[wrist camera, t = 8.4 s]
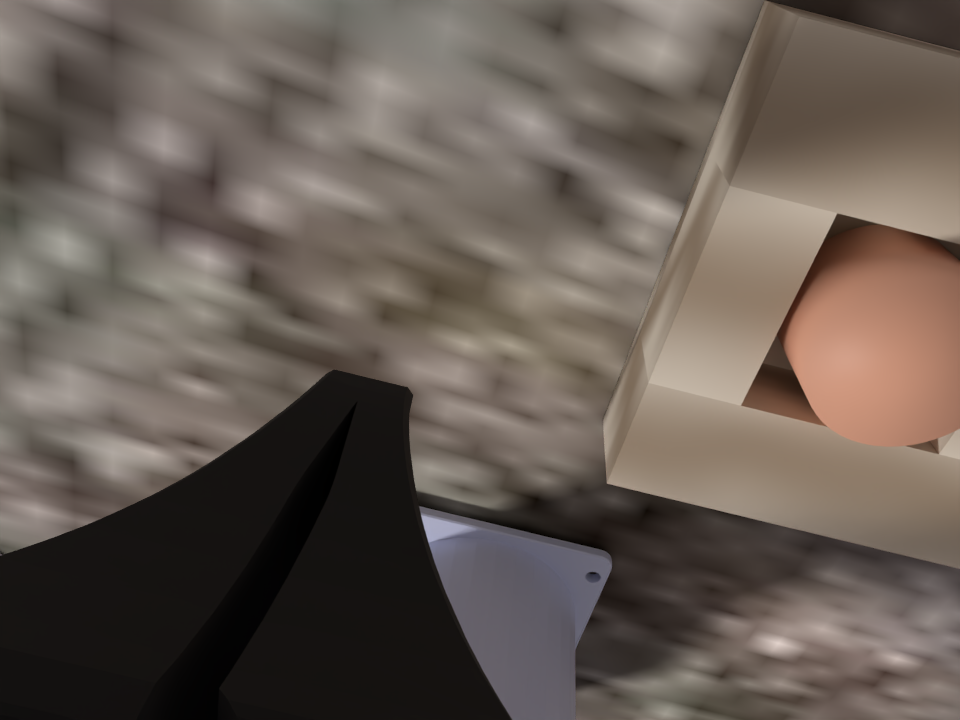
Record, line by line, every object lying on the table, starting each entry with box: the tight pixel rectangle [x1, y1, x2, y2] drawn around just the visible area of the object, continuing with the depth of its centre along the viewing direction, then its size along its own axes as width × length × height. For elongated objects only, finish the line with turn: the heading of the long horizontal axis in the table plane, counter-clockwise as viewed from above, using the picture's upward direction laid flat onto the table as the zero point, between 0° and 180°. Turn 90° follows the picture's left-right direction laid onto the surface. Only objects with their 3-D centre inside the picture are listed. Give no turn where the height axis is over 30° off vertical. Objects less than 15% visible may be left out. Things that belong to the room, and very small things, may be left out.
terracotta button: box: [777, 224, 960, 447], centre depth 18 cm, size 4×4×3 cm
